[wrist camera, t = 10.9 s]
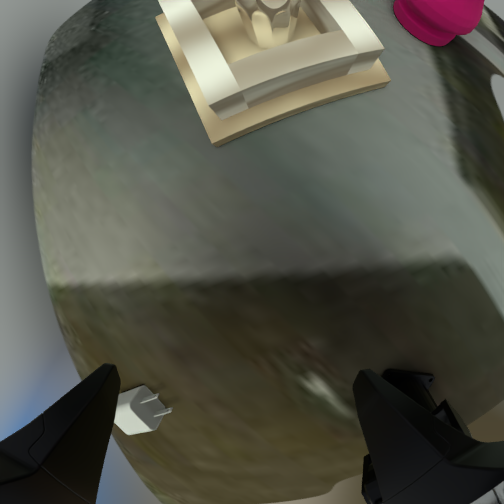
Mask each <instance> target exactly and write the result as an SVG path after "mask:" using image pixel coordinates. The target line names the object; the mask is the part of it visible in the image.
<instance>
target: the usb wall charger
mask: <svg viewBox="0 0 504 504" xmlns="http://www.w3.org/2000/svg"><path fill="white" fill-rule="evenodd" d="M159 394H160V393H157V394H153V393H152V392H151V391H150V390H149V389H148V388H147V387H146V386H144V385H143V386H140V387H137V388H135V389H132V390H129V391H127V392H124V393H121V394H119V396H118V402H117V409H116V415H115V420H114V422H115V423H116V424H117V425H118V426H119V427H120V428H121V429H122V430H123V431H124V432H125V433H126V434H128V435H131V434H137V433H142V432H148V431H153V430H156V429H157V427H158V426H159V424H160V422H161V420H162V418H163V416H164V414H167V413H170V412H171V411H172V409H173V407H171V408H167V409H165V406H164V405H163V404H162V403H161V402H160V401H159V400H158V399H157V398H158V396H159ZM155 396H156V397H155Z"/></svg>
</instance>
